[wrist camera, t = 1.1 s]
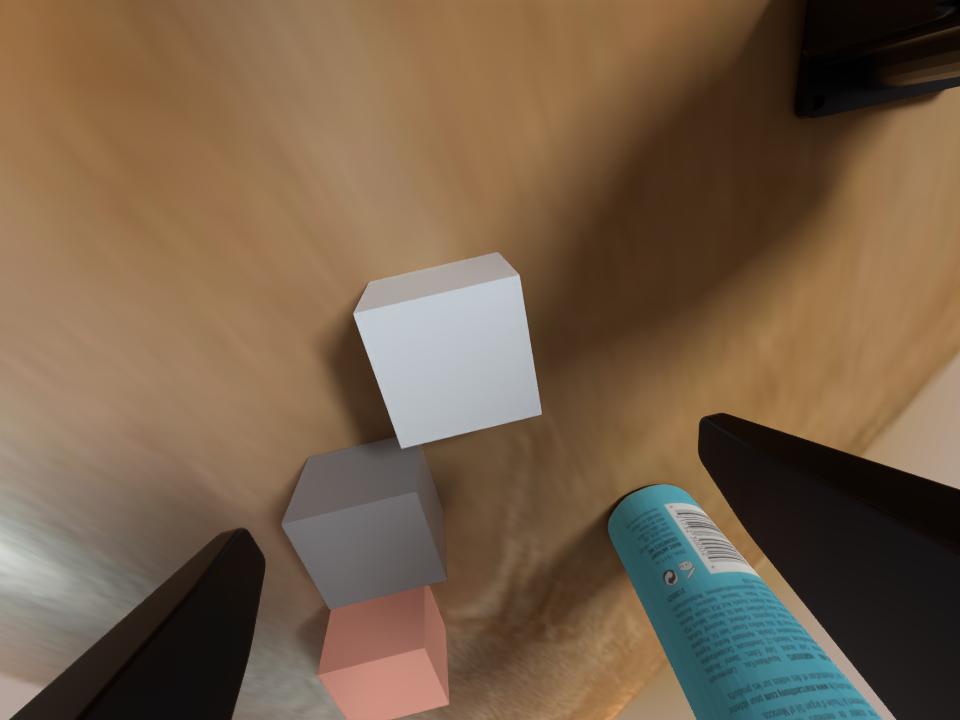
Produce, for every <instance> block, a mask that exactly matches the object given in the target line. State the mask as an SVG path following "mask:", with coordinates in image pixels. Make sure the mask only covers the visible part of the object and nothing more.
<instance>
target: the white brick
mask: <svg viewBox="0 0 960 720" xmlns="http://www.w3.org/2000/svg"><path fill="white" fill-rule="evenodd" d="M353 315H354V318H355V320H356V323H357V326H358V329H359V332H360V334H361V337H362V340H363V343H364V346H365V348H366V351H367V354H368V357H369V360H370V362H371V365H372V368H373V371H374V374H375V376H376V379H377V382H378V385H379V388H380V390H381V393H382V396H383V399H384V401H385V404H386V407H387V410H388V413H389V415H390V418H391V421H392V424H393V427H394V429H395V432H396V435H397V438H398V441H399V443H400V446H401V449H402V448H406V447H411V446H415V445H419V444H423V443H427V442H431V441H435V440H439V439H443V438H447V437H452V436H456V435H460V434H464V433H468V432H472V431H476V430H480V429H484V428H488V427H493V426H497V425H501V424H505V423H509V422H513V421H517V420H521V419H525V418H529V417H534V416H538V415H542V411H541V405H540V399H539V393H538V386H537V380H536V374H535V368H534V362H533V355H532V349H531V343H530V337H529V331H528V325H527V318H526V312H525V306H524V300H523V294H522V287H521V281H520V275H519V274H518V273H517V272H516V271H515V270H514V268H513V267H512V266H511V265H510V264H509V263H508V262H507V261H506V260H505V259H504V258H503V257H502V256H501V255H500V254H499V253H498V252H496V253H491V254H487V255H483V256H479V257H474V258H470V259H466V260H461V261H457V262H453V263H448V264H444V265H440V266H436V267H431V268H427V269H423V270H418V271H414V272H410V273H405V274H401V275H397V276H392V277H388V278H384V279H380V280H375V281H371V282H369V283H368V285H367V287H366V289H365V291H364V293H363V295H362V297H361V299H360V301H359V303H358V305H357V307H356V309H355V311H354V313H353Z"/></svg>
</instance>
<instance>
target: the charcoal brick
mask: <svg viewBox="0 0 960 720" xmlns="http://www.w3.org/2000/svg"><path fill="white" fill-rule="evenodd" d="M281 526H282V527H283V529H284V531H285V533H286V534H287V536H288V538H289V540H290V541H291V543H292V545H293V547H294V548H295V550H296V552H297V554H298V555H299V557H300V559H301V561H302V563H303V564H304V566H305V568H306V570H307V571H308V573H309V575H310V577H311V578H312V580H313V582H314V584H315V585H316V587H317V589H318V591H319V592H320V594H321V596H322V598H323V599H324V601H325V603H326V605H327V607H328V608H329V610H332V609H336V608H340V607H344V606H348V605H352V604H356V603H360V602H364V601H368V600H372V599H376V598H380V597H384V596H388V595H392V594H396V593H400V592H404V591H408V590H412V589H416V588H420V587H424V586H427V585H431V584H435V583H439V582H443V581H447V566H446V549H445V532H444V516H443V509H442V506H441V503H440V500H439V497H438V494H437V490H436V487H435V484H434V481H433V478H432V475H431V472H430V469H429V465H428V462H427V459H426V456H425V453H424V450H423V447H422V444H419V445H415V446H411V447H406V448H402V449H401V446H400V443H399V441H398V438H397V436H396V437H392V438H388V439H383V440H379V441H375V442H371V443H367V444H362V445H358V446H354V447H350V448H346V449H341V450H337V451H333V452H329V453H325V454H320V455H316V456H312V457H308V459H307V462H306V464H305V467H304V469H303V471H302V474H301V476H300V479H299V481H298V484H297V486H296V489H295V491H294V494H293V496H292V499H291V501H290V503H289V506H288V508H287V511H286V513H285V516H284V518H283V521H282V523H281Z"/></svg>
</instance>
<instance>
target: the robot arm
mask: <svg viewBox="0 0 960 720" xmlns="http://www.w3.org/2000/svg"><path fill="white" fill-rule="evenodd" d="M958 86H960V0H807V7H806V16H805V24H804V32H803V40H802V49H801V57H800V65H799V74H798V82H797V90H796V99H795V114H796V116H797V117H798V118H800V119H812V118H818V117H823V116H827V115H832V114H836V113H841V112H845V111H850V110H854V109H859V108H863V107H868V106H872V105H877V104H881V103H886V102H890V101H895V100H899V99H904V98H908V97H913V96H917V95H922V94H926V93H931V92H935V91H940V90H944V89H949V88H953V87H958ZM813 97H814V98H815V103H814V106H813V107H812V108H811V101H812V98H813ZM698 454H699V457H700V460H701V462H702V464H703V465H704V467H705V468H706V470H707V471H708V473H709V474H710V476H711V478H712V479H713V481H714V482H715V484H716V485H717V487H718V488H719V490H720V491H721V493H722V495H723V496H724V498H725V499H726V501H727V502H728V504H729V505H730V507H731V508H732V510H733V512H734V513H735V515H736V516H737V518H738V519H739V521H740V522H741V524H742V525H743V527H744V528H745V529H746V531H747V532H748V534H749V535H750V536H751V537H752V539H753V540H754V541H755V543H756V544H757V545H758V546H759V548H760V549H761V550H762V551H763V553H764V554H765V555H766V557H767V558H768V559H769V560H770V562H771V563H772V564H773V565H774V567H775V568H776V569H777V570H778V572H779V573H780V574H781V575H782V577H783V578H784V579H785V580H786V582H787V583H788V584H789V585H790V587H791V588H792V589H793V590H794V592H795V593H796V594H797V595H798V597H799V598H800V599H801V600H802V602H803V603H804V604H805V605H806V606H807V608H808V609H809V610H810V612H811V613H812V614H813V615H814V617H815V618H816V619H817V621H818V622H819V623H820V624H821V625H822V627H823V628H824V629H825V630H826V632H827V633H828V634H829V636H830V637H831V638H832V639H833V641H834V642H835V643H836V644H837V646H838V647H839V648H840V649H841V651H842V652H843V653H844V654H845V656H846V657H847V658H848V659H849V661H850V662H851V663H852V664H853V666H854V667H855V668H856V669H857V671H858V672H859V673H860V675H861V676H862V677H863V678H864V679H865V681H866V682H867V683H868V684H869V686H870V687H871V688H872V689H873V691H874V692H875V693H876V695H877V696H878V697H879V698H880V700H881V701H882V702H883V703H884V705H886V707H887V708H888V710H889V711H890V712H891V713H892V715H893V716H894V717H895V718H896V720H960V490H959V489H957V488H953V487H951V486H947V485H944V484H941V483H938V482H935V481H932V480H929V479H926V478H923V477H919V476H917V475H914V474H910V473H907V472H904V471H901V470H898V469H895V468H892V467H889V466H885V465H883V464H880V463H877V462H874V461H870V460H867V459H864V458H861V457H858V456H855V455H852V454H849V453H846V452H843V451H840V450H837V449H834V448H830V447H827V446H824V445H821V444H818V443H815V442H812V441H809V440H806V439H803V438H800V437H797V436H793V435H790V434H787V433H784V432H781V431H778V430H775V429H772V428H769V427H766V426H763V425H760V424H757V423H753V422H750V421H747V420H744V419H741V418H738V417H735V416H732V415H729V414H726V413H717V414H713V415H709V416H705V417H703V418H702V419H701V420H700V422H699V438H698ZM264 574H265V558H264V555H263V553H262V552H261V550H260V548H259V547H258V545H257V544H256V542H255V540H254V539H253V537H252V536H251V534H250V532H249V531H248V530H247V529H245V528H237V529H233V530H229V531H225V532H222V533H220V534H219V535H217V536H216V537H215V538H214V539H213V540H212V541H211V542H209V543H208V544H207V545H206V546H205V547H204V548H203V549H201V550H200V551H199V552H198V553H197V554H196V555H195V556H194V557H192V558H191V559H190V560H189V561H188V562H187V563H186V564H185V565H183V566H182V567H181V568H180V569H179V570H178V571H177V572H175V573H174V574H173V575H172V576H171V577H170V578H169V579H168V580H166V581H165V582H164V583H163V584H162V585H161V586H160V587H159V588H157V589H156V590H155V591H154V592H153V593H152V594H151V595H149V596H148V597H147V598H146V599H145V600H144V601H143V602H142V603H140V604H139V605H138V606H137V607H136V608H135V609H134V610H133V611H131V612H130V613H129V614H128V615H127V616H126V617H125V618H123V619H122V620H121V621H120V622H119V623H118V624H117V625H116V626H114V627H113V628H112V629H111V630H110V631H109V632H108V633H107V634H105V635H104V636H103V637H102V638H101V639H100V640H99V641H97V642H96V643H95V644H94V645H93V646H92V647H91V648H90V649H88V650H87V651H86V652H85V653H84V654H83V655H82V656H81V657H79V658H78V659H77V660H76V661H75V662H74V663H73V664H71V665H70V666H69V667H68V668H67V669H66V670H65V671H64V672H62V673H61V674H60V675H59V676H58V677H57V678H56V679H55V680H53V681H52V682H51V683H50V684H49V685H48V686H47V687H45V688H44V689H43V690H42V691H41V692H40V693H39V694H38V695H36V696H35V697H34V698H33V699H32V700H31V701H30V702H29V703H27V704H26V705H25V706H24V707H23V708H22V709H21V710H19V711H18V712H17V713H16V714H15V715H14V716H13V717H12V718H10V719H9V720H232V716H233V712H234V709H235V705H236V702H237V698H238V695H239V691H240V687H241V684H242V680H243V677H244V673H245V670H246V666H247V662H248V658H249V654H250V649H251V644H252V640H253V634H254V629H255V623H256V618H257V612H258V607H259V601H260V596H261V590H262V585H263V579H264Z"/></svg>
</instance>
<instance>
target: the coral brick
mask: <svg viewBox="0 0 960 720" xmlns="http://www.w3.org/2000/svg"><path fill="white" fill-rule="evenodd" d="M317 676H318V677H319V679H320V680H321V682H322V683H323V685H324V686H325V688H326V689H327V691H328V692H329V694H330V695H331V697H332V698H333V700H334V701H335V703H336V704H337V706H338V707H339V709H340V710H341V712H342V713H343V715H344V716H345V718H346V719H347V720H391V719H395V718H399V717H403V716H407V715H410V714H414V713H418V712H422V711H426V710H430V709H433V708H437V707H441V706H445V705H449V687H448V667H447V646H446V628H445V625H444V623H443V620H442V618H441V615H440V612H439V610H438V607H437V605H436V602H435V599H434V597H433V594H432V592H431V589H430V586H429V585H427V586H424V587H420V588H416V589H412V590H408V591H404V592H400V593H396V594H392V595H388V596H384V597H380V598H376V599H372V600H368V601H364V602H360V603H356V604H352V605H348V606H344V607H340V608H336V609H332V610H331V613H330V618H329V622H328V627H327V632H326V636H325V641H324V646H323V651H322V655H321V660H320V665H319V669H318V674H317Z"/></svg>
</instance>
